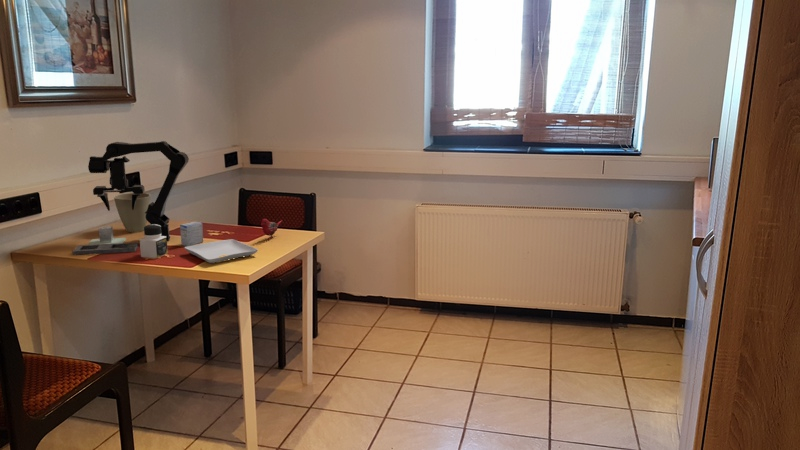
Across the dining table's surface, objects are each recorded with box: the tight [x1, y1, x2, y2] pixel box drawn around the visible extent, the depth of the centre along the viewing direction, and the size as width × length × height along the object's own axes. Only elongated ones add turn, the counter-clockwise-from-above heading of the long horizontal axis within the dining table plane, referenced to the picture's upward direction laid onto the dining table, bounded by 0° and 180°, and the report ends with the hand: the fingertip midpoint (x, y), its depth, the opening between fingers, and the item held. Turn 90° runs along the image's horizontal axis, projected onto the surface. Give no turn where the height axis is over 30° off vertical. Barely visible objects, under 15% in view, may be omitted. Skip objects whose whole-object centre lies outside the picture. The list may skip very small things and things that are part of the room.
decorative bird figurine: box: [260, 218, 283, 241], centre depth 256 cm, size 3×18×10 cm, turn 161°
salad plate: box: [183, 238, 259, 264], centre depth 230 cm, size 21×21×3 cm
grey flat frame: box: [72, 241, 139, 256], centre depth 234 cm, size 22×9×2 cm, turn 106°
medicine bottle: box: [139, 224, 169, 259], centre depth 227 cm, size 7×7×12 cm
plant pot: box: [113, 192, 151, 233], centre depth 263 cm, size 15×15×16 cm
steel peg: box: [98, 225, 115, 243], centre depth 244 cm, size 4×4×6 cm
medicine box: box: [179, 221, 204, 247], centre depth 245 cm, size 8×4×9 cm, turn 149°
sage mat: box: [87, 237, 127, 245], centre depth 244 cm, size 13×10×1 cm
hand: (121, 210), depth 246 cm, fingers open, 9 cm apart
